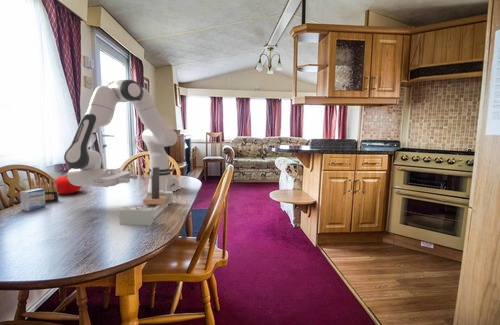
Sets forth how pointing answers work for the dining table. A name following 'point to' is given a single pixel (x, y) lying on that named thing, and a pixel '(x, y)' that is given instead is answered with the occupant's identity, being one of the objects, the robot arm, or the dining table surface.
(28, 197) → the medicine box
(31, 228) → the dining table surface
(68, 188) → the tomato
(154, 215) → the track
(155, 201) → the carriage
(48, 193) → the ammunition clip
